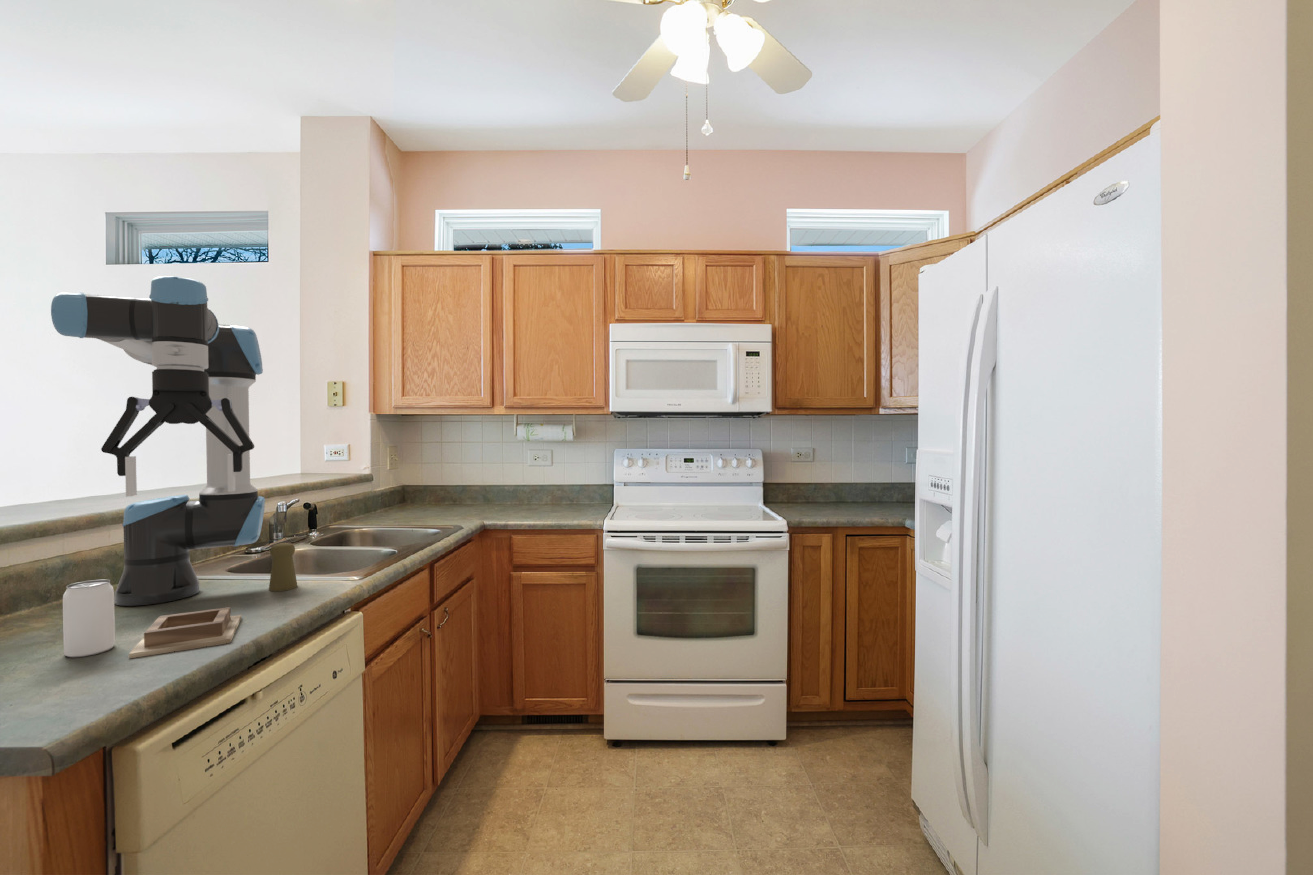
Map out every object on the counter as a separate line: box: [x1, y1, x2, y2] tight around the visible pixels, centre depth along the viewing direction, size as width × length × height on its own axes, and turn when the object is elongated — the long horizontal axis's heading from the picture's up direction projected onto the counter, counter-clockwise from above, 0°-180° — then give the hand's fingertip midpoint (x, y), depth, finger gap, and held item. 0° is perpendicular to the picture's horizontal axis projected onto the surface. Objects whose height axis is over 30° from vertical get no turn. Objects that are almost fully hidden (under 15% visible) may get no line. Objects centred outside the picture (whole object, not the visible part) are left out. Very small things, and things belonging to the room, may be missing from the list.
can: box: [62, 579, 116, 659], centre depth 103 cm, size 6×6×12 cm
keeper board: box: [128, 606, 242, 659], centre depth 110 cm, size 16×14×3 cm
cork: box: [268, 542, 298, 592], centre depth 144 cm, size 6×6×11 cm
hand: (183, 493), depth 100 cm, fingers open, 13 cm apart
